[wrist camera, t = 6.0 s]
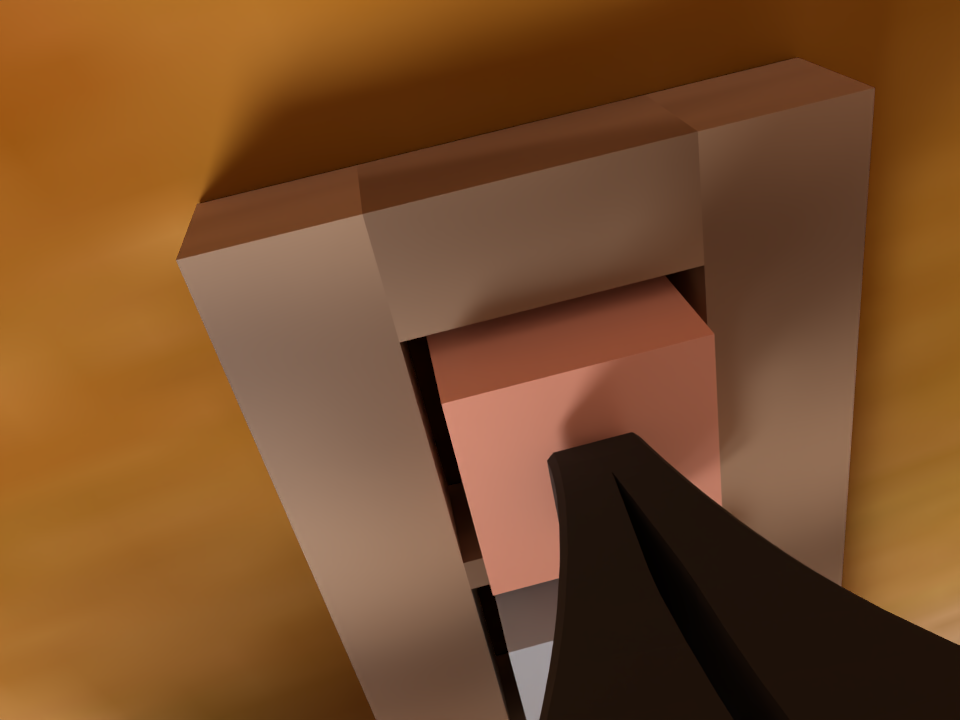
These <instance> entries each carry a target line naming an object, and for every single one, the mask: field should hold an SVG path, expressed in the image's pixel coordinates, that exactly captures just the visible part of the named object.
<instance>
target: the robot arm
mask: <svg viewBox="0 0 960 720" xmlns="http://www.w3.org/2000/svg"><path fill="white" fill-rule="evenodd" d="M547 464H548V469H549V474H550V480H551V485H552V490H553V495H554V500H555V506H556V511H557V516H558V521H559V541H560V567H559V583H558V600H557V613H556V622H555V631H554V639H553V646H552V653H551V660H550V667H549V673H548V678H547V683H546V688H545V694H544V699H543V704H542V709H541V714H540V719H539V720H960V645H958V644H955V643H953V642H951V641H949V640H946V639H944V638H942V637H940V636H938V635H936V634H934V633H932V632H930V631H928V630H925V629H923V628H921V627H919V626H917V625H915V624H913V623H911V622H909V621H907V620H904V619H902V618H900V617H898V616H896V615H894V614H892V613H890V612H888V611H886V610H883V609H882V608H880V607H878V606H876V605H874V604H872V603H870V602H869V601H867V600H865V599H863V598H861V597H859V596H857V595H856V594H854V593H852V592H850V591H848V590H847V589H845V588H843V587H841V586H840V585H838V584H836V583H835V582H833V581H831V580H829V579H828V578H826V577H824V576H822V575H821V574H819V573H817V572H816V571H814V570H813V569H811V568H809V567H808V566H806V565H804V564H803V563H801V562H800V561H798V560H797V559H795V558H794V557H792V556H790V555H789V554H787V553H786V552H784V551H783V550H781V549H780V548H778V547H777V546H776V545H774V544H773V543H771V542H770V541H768V540H767V539H765V538H764V537H762V536H761V535H759V534H758V533H757V532H755V531H754V530H752V529H751V528H750V527H748V526H747V525H745V524H744V523H743V522H741V521H740V520H739V519H737V518H736V517H735V516H733V515H732V514H731V513H729V512H728V511H727V510H726V509H724V508H723V507H722V506H720V505H719V504H718V503H717V502H715V501H714V500H713V499H711V498H710V497H709V496H707V495H706V494H705V493H704V492H702V491H701V490H700V489H699V488H698V487H696V486H695V485H694V484H693V483H691V482H690V481H689V480H688V479H687V478H686V477H684V476H683V475H682V474H681V473H680V472H679V471H677V470H676V469H675V468H674V467H673V466H672V465H670V464H669V463H668V462H667V461H666V460H665V459H664V458H663V457H661V456H660V455H659V454H658V453H657V452H656V451H655V450H654V449H653V448H652V447H651V446H649V445H648V444H647V443H646V442H645V441H644V440H643V439H642V438H641V437H640V436H638V435H637V434H635V433H633V432H630V433H626V434H622V435H619V436H615V437H611V438H607V439H603V440H600V441H596V442H592V443H588V444H584V445H581V446H577V447H573V448H569V449H565V450H561V451H558V452H554V453H553V454H552V455H551V456H550V457H549V459H548V460H547Z"/></svg>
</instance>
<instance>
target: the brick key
mask: <svg viewBox="0 0 960 720" xmlns="http://www.w3.org/2000/svg"><path fill="white" fill-rule="evenodd" d="M426 337H427V342H428V346H429V350H430V355H431V359H432V364H433V368H434V373H435V377H436V382H437V386H438V391H439V395H440V400H441V404H442V408H443V412H444V415H445V419H446V423H447V427H448V430H449V434H450V438H451V441H452V445H453V449H454V453H455V456H456V460H457V464H458V467H459V471H460V475H461V479H462V482H463V486H464V490H465V493H466V497H467V501H468V505H469V508H470V512H471V516H472V519H473V523H474V527H475V531H476V534H477V538H478V542H479V545H480V549H481V553H482V557H483V560H484V564H485V568H486V571H487V575H488V579H489V583H490V586H491V590H492V594H493V596H494V595H498V594H501V593H505V592H509V591H513V590H516V589H520V588H524V587H528V586H531V585H535V584H539V583H543V582H546V581H550V580H554V579H558V578H559V567H560V541H559V521H558V516H557V511H556V506H555V500H554V495H553V490H552V485H551V480H550V474H549V469H548V464H547V460H548V459H549V457H550V456H551V455H552V454H553V453H554V452H558V451H561V450H565V449H569V448H573V447H577V446H581V445H584V444H588V443H592V442H596V441H600V440H603V439H607V438H611V437H615V436H619V435H622V434H626V433H630V432H633V433H635V434H637V435H638V436H640V437H641V438H642V439H643V440H644V441H645V442H646V443H647V444H648V445H649V446H651V447H652V448H653V449H654V450H655V451H656V452H657V453H658V454H659V455H660V456H661V457H663V458H664V459H665V460H666V461H667V462H668V463H669V464H670V465H672V466H673V467H674V468H675V469H676V470H677V471H679V472H680V473H681V474H682V475H683V476H684V477H686V478H687V479H688V480H689V481H690V482H691V483H693V484H694V485H695V486H696V487H698V488H699V489H700V490H701V491H702V492H704V493H705V494H706V495H707V496H709V497H710V498H711V499H713V500H714V501H715V502H717V503H718V504H719V505H720V506H722V495H721V472H720V450H719V427H718V404H717V381H716V359H715V336H714V333H713V332H712V330H711V329H710V328H709V327H708V326H707V325H706V323H705V322H704V321H703V320H702V319H701V317H700V316H699V315H698V314H697V313H696V312H695V310H694V309H693V308H692V307H691V306H690V304H689V303H688V302H687V301H686V300H685V299H684V297H683V296H682V295H681V294H680V293H679V291H678V290H677V289H676V288H675V287H674V285H673V284H672V283H671V282H670V281H669V280H668V278H667V277H666V276H665V275H664V276H660V277H656V278H652V279H648V280H644V281H640V282H636V283H632V284H628V285H624V286H620V287H616V288H612V289H609V290H605V291H601V292H597V293H593V294H589V295H585V296H581V297H577V298H573V299H569V300H565V301H561V302H557V303H553V304H549V305H545V306H541V307H537V308H534V309H530V310H526V311H522V312H518V313H514V314H510V315H506V316H502V317H498V318H494V319H490V320H486V321H482V322H478V323H474V324H470V325H466V326H462V327H459V328H455V329H451V330H447V331H443V332H439V333H435V334H431V335H427V336H426Z"/></svg>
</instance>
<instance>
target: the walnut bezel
mask: <svg viewBox="0 0 960 720" xmlns="http://www.w3.org/2000/svg"><path fill="white" fill-rule="evenodd" d="M874 96H875V88H874V87H872V86H869V85H867V84H864V83H862V82H859V81H857V80H854V79H852V78H849V77H846V76H844V75H841V74H839V73H836V72H834V71H831V70H829V69H826V68H824V67H821V66H818V65H816V64H813V63H811V62H808V61H806V60H803V59H801V58H794V59H790V60H785V61H781V62H777V63H773V64H769V65H765V66H761V67H757V68H753V69H749V70H744V71H740V72H736V73H732V74H728V75H724V76H720V77H716V78H712V79H708V80H704V81H699V82H695V83H691V84H687V85H683V86H679V87H675V88H671V89H667V90H663V91H659V92H654V93H650V94H646V95H642V96H638V97H634V98H630V99H626V100H622V101H618V102H613V103H609V104H605V105H601V106H597V107H593V108H589V109H585V110H581V111H577V112H573V113H568V114H564V115H560V116H556V117H552V118H548V119H544V120H540V121H536V122H532V123H528V124H523V125H519V126H515V127H511V128H507V129H503V130H499V131H495V132H491V133H487V134H482V135H478V136H474V137H470V138H466V139H462V140H458V141H454V142H450V143H446V144H442V145H437V146H433V147H429V148H425V149H421V150H417V151H413V152H409V153H405V154H401V155H397V156H392V157H388V158H384V159H380V160H376V161H372V162H368V163H364V164H360V165H356V166H351V167H347V168H343V169H339V170H335V171H331V172H327V173H323V174H319V175H315V176H311V177H306V178H302V179H298V180H294V181H290V182H286V183H282V184H278V185H274V186H270V187H266V188H261V189H257V190H253V191H249V192H245V193H241V194H237V195H233V196H229V197H225V198H220V199H216V200H212V201H208V202H204V203H200V204H197V206H196V209H195V211H194V214H193V217H192V219H191V222H190V224H189V227H188V230H187V232H186V235H185V238H184V240H183V243H182V246H181V248H180V251H179V254H178V256H177V259H176V261H177V263H178V266H179V268H180V270H181V273H182V275H183V277H184V280H185V282H186V284H187V286H188V289H189V291H190V293H191V296H192V298H193V300H194V303H195V305H196V307H197V309H198V312H199V314H200V316H201V319H202V321H203V323H204V326H205V328H206V330H207V332H208V335H209V337H210V339H211V342H212V344H213V346H214V349H215V351H216V353H217V355H218V358H219V360H220V362H221V365H222V367H223V369H224V372H225V374H226V376H227V378H228V381H229V383H230V385H231V388H232V390H233V392H234V395H235V397H236V399H237V401H238V404H239V406H240V408H241V411H242V413H243V415H244V418H245V420H246V422H247V424H248V427H249V429H250V431H251V434H252V436H253V438H254V441H255V443H256V445H257V447H258V450H259V452H260V454H261V457H262V459H263V461H264V464H265V466H266V468H267V470H268V473H269V475H270V477H271V480H272V482H273V484H274V486H275V489H276V491H277V493H278V496H279V498H280V500H281V503H282V505H283V507H284V509H285V512H286V514H287V516H288V519H289V521H290V523H291V526H292V528H293V530H294V532H295V535H296V537H297V539H298V542H299V544H300V546H301V549H302V551H303V553H304V555H305V558H306V560H307V562H308V565H309V567H310V569H311V572H312V574H313V576H314V578H315V581H316V583H317V585H318V588H319V590H320V592H321V595H322V597H323V599H324V601H325V604H326V606H327V608H328V611H329V613H330V615H331V618H332V620H333V622H334V624H335V627H336V629H337V631H338V634H339V636H340V638H341V641H342V643H343V645H344V647H345V650H346V652H347V654H348V657H349V659H350V661H351V664H352V666H353V668H354V670H355V673H356V675H357V677H358V680H359V682H360V684H361V687H362V689H363V691H364V693H365V696H366V698H367V700H368V703H369V705H370V707H371V710H372V712H373V714H374V716H375V719H376V720H526V716H525V712H524V709H523V705H522V701H521V698H520V694H519V690H518V686H517V683H516V679H515V675H514V672H513V668H512V664H511V660H510V657H509V653H506V654H502V655H498V656H496V655H495V651H494V648H493V644H492V641H491V637H490V634H489V630H488V627H487V623H486V620H485V616H484V613H483V609H482V606H481V602H480V599H479V595H478V591H477V588H478V587H481V586H485V585H489V584H490V583H489V579H488V575H487V571H486V568H485V564H484V560H483V557H482V553H481V549H480V545H479V542H478V538H477V534H476V531H475V527H474V523H473V519H472V516H471V512H470V508H469V505H468V501H467V497H466V493H465V490H464V486H463V482H462V483H458V484H454V485H450V486H447V482H446V478H445V475H444V471H443V468H442V464H441V461H440V457H439V454H438V450H437V447H436V443H435V440H434V436H433V433H432V429H431V426H430V422H429V418H428V415H427V411H426V408H425V404H424V401H423V397H422V394H421V390H420V387H419V383H418V380H417V376H416V373H415V369H414V366H413V362H412V358H411V355H410V351H409V348H408V344H407V340H411V339H415V338H419V337H423V336H427V335H431V334H435V333H439V332H443V331H447V330H451V329H455V328H459V327H462V326H466V325H470V324H474V323H478V322H482V321H486V320H490V319H494V318H498V317H502V316H506V315H510V314H514V313H518V312H522V311H526V310H530V309H534V308H537V307H541V306H545V305H549V304H553V303H557V302H561V301H565V300H569V299H573V298H577V297H581V296H585V295H589V294H593V293H597V292H601V291H605V290H609V289H612V288H616V287H620V286H624V285H628V284H632V283H636V282H640V281H644V280H648V279H652V278H656V277H660V276H664V275H665V276H666V277H667V278H668V280H669V281H670V282H671V283H672V284H673V285H674V287H675V288H676V289H677V290H678V291H679V293H680V294H681V295H682V296H683V297H684V299H685V300H686V301H687V302H688V303H689V304H690V306H691V307H692V308H693V309H694V310H695V312H696V313H697V314H698V315H699V316H700V317H701V319H702V320H703V321H704V322H705V323H706V325H707V326H708V327H709V328H710V329H711V330H712V332H713V333H714V336H715V359H716V381H717V404H718V427H719V450H720V472H721V495H722V507H723V508H724V509H726V510H727V511H728V512H729V513H731V514H732V515H733V516H735V517H736V518H737V519H739V520H740V521H741V522H743V523H744V524H745V525H747V526H748V527H750V528H751V529H752V530H754V531H755V532H757V533H758V534H759V535H761V536H762V537H764V538H765V539H767V540H768V541H770V542H771V543H773V544H774V545H776V546H777V547H778V548H780V549H781V550H783V551H784V552H786V553H787V554H789V555H790V556H792V557H794V558H795V559H797V560H798V561H800V562H801V563H803V564H804V565H806V566H808V567H809V568H811V569H813V570H814V571H816V572H817V573H819V574H821V575H822V576H824V577H826V578H828V579H829V580H831V581H833V582H835V583H836V584H838V585H840V586H841V587H842V572H843V557H844V542H845V527H846V512H847V498H848V483H849V468H850V453H851V438H852V423H853V408H854V394H855V379H856V364H857V349H858V334H859V319H860V304H861V289H862V275H863V260H864V245H865V230H866V215H867V200H868V185H869V171H870V156H871V141H872V126H873V111H874Z"/></svg>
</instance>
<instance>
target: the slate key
mask: <svg viewBox="0 0 960 720" xmlns="http://www.w3.org/2000/svg"><path fill="white" fill-rule="evenodd" d="M558 583H559V578H558V579H554V580H550V581H546V582H543V583H539V584H535V585H531V586H528V587H524V588H520V589H516V590H513V591H509V592H505V593H501V594H498V595H495V598H496V603H497V607H498V611H499V615H500V619H501V624H502V628H503V632H504V636H505V640H506V645H507V649H508V653H509V657H510V660H511V664H512V668H513V672H514V675H515V679H516V683H517V686H518V690H519V694H520V698H521V701H522V705H523V709H524V712H525V716H526V720H539V719H540V714H541V709H542V704H543V699H544V694H545V688H546V683H547V678H548V673H549V667H550V660H551V653H552V646H553V639H554V631H555V622H556V613H557V600H558Z"/></svg>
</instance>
